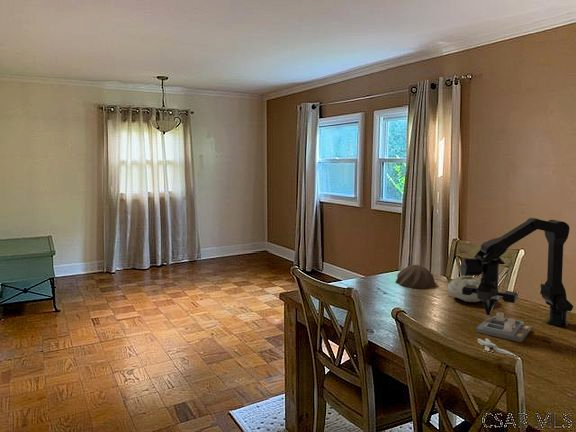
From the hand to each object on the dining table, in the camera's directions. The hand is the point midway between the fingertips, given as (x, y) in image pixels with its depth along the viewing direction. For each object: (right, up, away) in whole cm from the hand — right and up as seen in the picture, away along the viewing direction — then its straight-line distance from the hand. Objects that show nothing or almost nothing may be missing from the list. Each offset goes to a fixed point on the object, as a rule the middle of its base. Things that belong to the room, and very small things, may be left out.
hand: (488, 315), depth 167 cm
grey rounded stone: (+5, 0, +30) cm, 30 cm away
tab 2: (+1, -3, -13) cm, 13 cm away
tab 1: (+3, -2, -2) cm, 5 cm away
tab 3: (+4, -3, -9) cm, 10 cm away
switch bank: (+2, -4, -7) cm, 9 cm away
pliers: (-9, -7, -24) cm, 26 cm away
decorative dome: (-11, +3, +57) cm, 59 cm away
